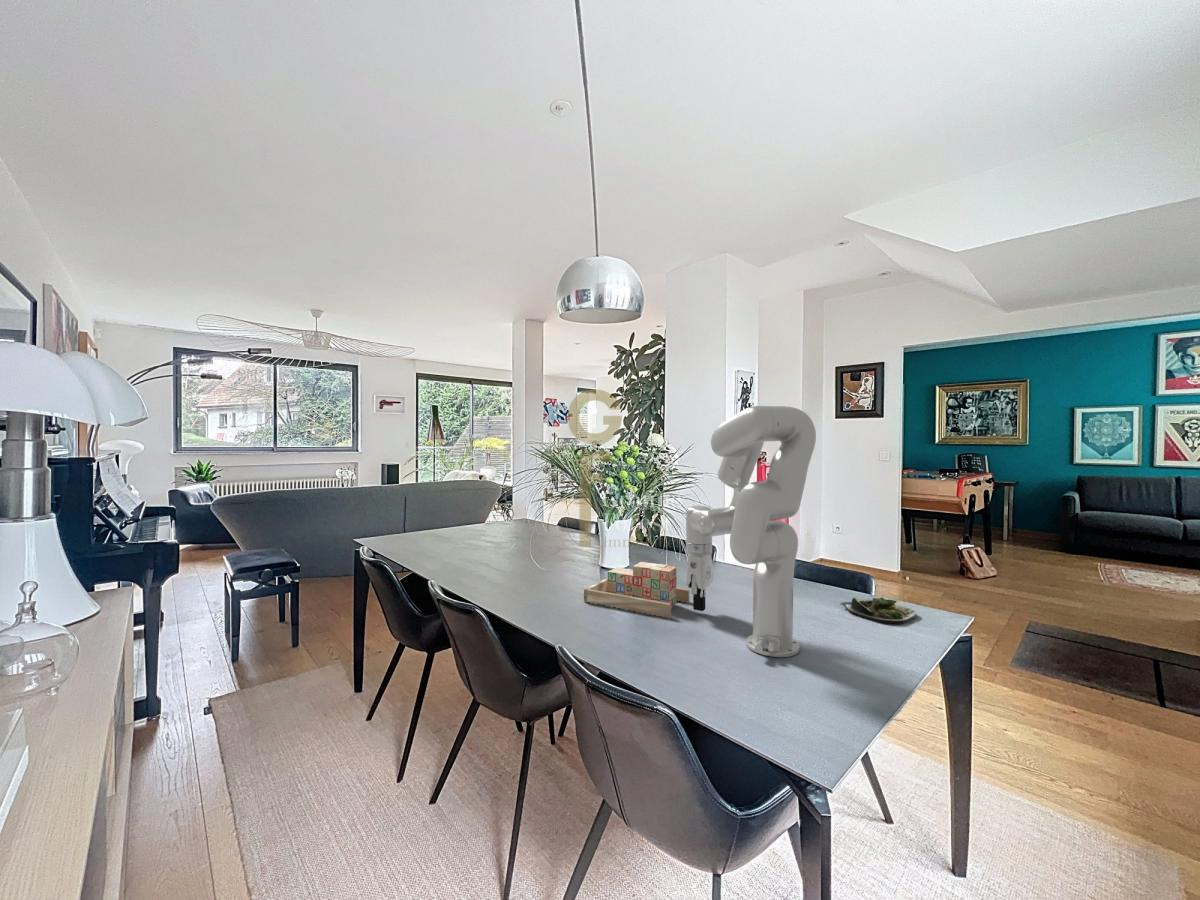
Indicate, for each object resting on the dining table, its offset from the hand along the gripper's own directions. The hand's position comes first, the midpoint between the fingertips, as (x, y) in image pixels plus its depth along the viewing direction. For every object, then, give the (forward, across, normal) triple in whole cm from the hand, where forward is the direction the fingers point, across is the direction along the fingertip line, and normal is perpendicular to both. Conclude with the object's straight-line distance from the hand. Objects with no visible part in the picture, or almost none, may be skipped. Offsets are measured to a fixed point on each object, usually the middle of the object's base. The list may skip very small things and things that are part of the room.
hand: (699, 609), depth 153 cm
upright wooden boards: (+1, 0, +21) cm, 21 cm away
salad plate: (+2, +26, -46) cm, 53 cm away
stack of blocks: (+1, +1, +19) cm, 19 cm away
